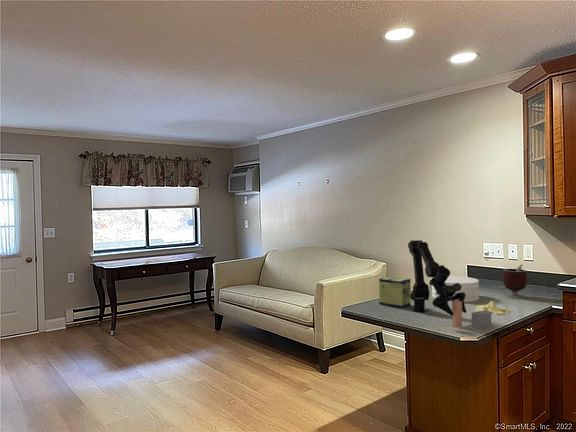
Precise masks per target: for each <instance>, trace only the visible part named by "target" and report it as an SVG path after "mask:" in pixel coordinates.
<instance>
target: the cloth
mask: <svg viewBox="0 0 576 432" xmlns="http://www.w3.org/2000/svg"><path fill="white" fill-rule="evenodd" d="M475 308H476V309H475V311H476V312H479V311H484V310H486V311H489V312H491V314H493V315H496V316H506V314H507V313H510V310H509V309H508V308H505V307H497V304H496V301H494V300H491V301H489V302H488V304H487V303H486V304H482V305H477V306H476V307H475ZM505 313H506V314H505Z"/></svg>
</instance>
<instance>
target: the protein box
mask: <svg viewBox="0 0 576 432" xmlns="http://www.w3.org/2000/svg"><path fill="white" fill-rule="evenodd" d="M378 282H379V284H378V286H379V287H378V288H379V289H378V292H379V293H378V294H379V295H378V297H379V299H378V305H381V304H382V306H387V307H388V306H389V307H392V308H399V309H404V308H407V307H408V306H411V303H412V302H411V297H410V295H411V279H410V278H402V277H394V276H386V277H381V278H379V280H378Z"/></svg>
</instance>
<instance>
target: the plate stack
mask: <svg viewBox="0 0 576 432" xmlns="http://www.w3.org/2000/svg"><path fill="white" fill-rule="evenodd" d="M444 283H445V284H446V285H449V286H451V285H454V284H456V283H459V284H460V285H461V286H462V288H461V291H457V292H455V294H454V295H453V296H455V295H456V294H457V293H459V292H464V293H465V295H466V297H465V299H464V303H465V302H466V303H468V302H475V301H478V300H479V299H480V296H479V295H480V292H479V291H480V288H479V287H480V284H479V283H480V281H479V279H478V278H475V277H474V278H473V277H468V276H462V275H461V276H460V275H459V276H457V275H449V277H448V278H447V280H446V281H445V282H444ZM431 289H432V290H431V297H432V298H434V299H435V298H436V297H437V296H439V294H436V292H437V291H436V290H435V288H434V287H433V285H431Z"/></svg>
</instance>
